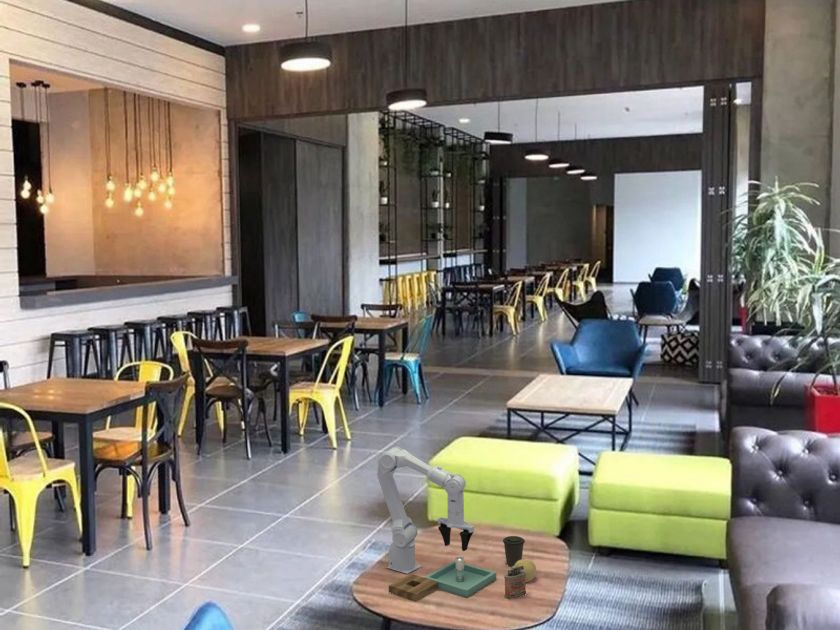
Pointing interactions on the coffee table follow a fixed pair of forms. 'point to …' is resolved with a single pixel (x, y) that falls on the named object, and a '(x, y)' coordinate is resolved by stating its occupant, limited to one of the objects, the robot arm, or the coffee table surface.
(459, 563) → the pin
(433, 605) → the coffee table surface
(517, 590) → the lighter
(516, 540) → the coffee cup
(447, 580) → the tray
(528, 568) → the apple
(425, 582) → the pin block
